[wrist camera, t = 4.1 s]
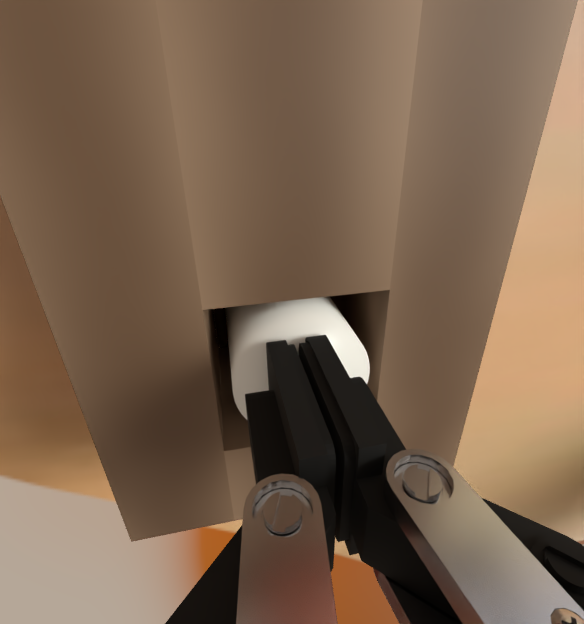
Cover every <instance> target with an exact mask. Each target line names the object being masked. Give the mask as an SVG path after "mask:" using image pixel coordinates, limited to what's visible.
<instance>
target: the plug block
mask: <svg viewBox="0 0 584 624" xmlns="http://www.w3.org/2000/svg"><path fill="white" fill-rule="evenodd" d="M577 1H578V0H0V196H1V199H2V201H3V204H4V207H5V209H6V212H7V215H8V217H9V220H10V223H11V225H12V228H13V230H14V233H15V236H16V238H17V241H18V244H19V246H20V249H21V252H22V254H23V257H24V259H25V262H26V265H27V267H28V270H29V273H30V275H31V278H32V281H33V283H34V286H35V289H36V291H37V294H38V296H39V299H40V302H41V304H42V307H43V310H44V312H45V315H46V318H47V320H48V323H49V325H50V328H51V331H52V333H53V336H54V339H55V341H56V344H57V347H58V349H59V352H60V354H61V357H62V360H63V362H64V365H65V368H66V370H67V373H68V376H69V378H70V381H71V384H72V386H73V389H74V391H75V394H76V397H77V399H78V402H79V405H80V407H81V410H82V413H83V415H84V418H85V420H86V423H87V426H88V428H89V431H90V434H91V436H92V439H93V442H94V444H95V447H96V449H97V452H98V455H99V457H100V460H101V463H102V465H103V468H104V471H105V473H106V476H107V479H108V481H109V484H110V486H111V489H112V492H113V494H114V497H115V500H116V502H117V505H118V508H119V510H120V512H121V515H122V518H123V521H124V523H125V526H126V529H127V531H128V534H129V537H130V539H131V541H137V540H142V539H147V538H151V537H156V536H161V535H166V534H171V533H176V532H181V531H186V530H191V529H195V528H200V527H206V526H211V525H215V524H220V523H225V522H230V521H235V520H240V519H243V509H244V505H245V500H246V497H247V496H248V494H249V492H250V491H251V489H252V488H253V487H254V486H255V485H256V481H255V474H254V467H253V460H252V453H251V445H250V438H249V430H248V421H247V419H245V417H244V416H243V415H242V414H241V413H240V411H239V409H238V408H237V405H236V403H235V400H234V396H233V389H232V378H231V367H230V356H229V347H224V348H219V345H218V337H217V330H216V323H215V315H214V309H216V308H226V307H235V306H244V305H254V304H263V303H272V302H281V301H291V300H300V299H309V298H319V297H328V296H330V298H331V299H332V301H333V302H334V304H335V305H336V307H337V308H338V309H339V311H340V312H341V314H342V315H343V317H344V318H345V320H346V321H347V323H348V324H349V326H350V327H351V328H352V330H353V331H354V333H355V334H356V336H357V337H358V339H359V340H360V342H361V343H362V344H363V346H364V348H365V350H366V352H367V355H368V358H369V365H370V373H369V379H368V383H367V386H368V387H369V389H370V390H371V392H372V394H373V395H374V397H375V399H376V400H377V402H378V404H379V405H380V407H381V409H382V410H383V412H384V413H385V415H386V417H387V418H388V420H389V422H390V423H391V425H392V427H393V428H394V430H395V432H396V433H397V435H398V437H399V438H400V440H401V441H402V443H403V445H404V446H405V448H406V450H407V449H421V450H425V451H428V452H432V453H434V454H436V455H438V456H440V457H441V458H443V459H445V460H446V461H447V462H448V463H449V464H450V465H451V466H453V465H454V461H455V458H456V454H457V450H458V447H459V443H460V439H461V435H462V432H463V428H464V424H465V420H466V417H467V413H468V409H469V405H470V402H471V398H472V394H473V390H474V387H475V383H476V379H477V375H478V372H479V368H480V364H481V360H482V357H483V353H484V349H485V346H486V342H487V338H488V334H489V331H490V327H491V323H492V319H493V316H494V312H495V308H496V304H497V301H498V297H499V293H500V289H501V286H502V282H503V278H504V274H505V271H506V267H507V263H508V259H509V256H510V252H511V248H512V245H513V241H514V237H515V233H516V230H517V226H518V222H519V218H520V215H521V211H522V207H523V203H524V200H525V196H526V192H527V188H528V185H529V181H530V177H531V173H532V170H533V166H534V162H535V159H536V155H537V151H538V147H539V144H540V140H541V136H542V132H543V129H544V125H545V121H546V117H547V114H548V110H549V106H550V102H551V99H552V95H553V91H554V87H555V84H556V80H557V76H558V72H559V69H560V65H561V61H562V58H563V54H564V50H565V46H566V43H567V39H568V35H569V31H570V28H571V24H572V20H573V16H574V13H575V9H576V5H577Z"/></svg>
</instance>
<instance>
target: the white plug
mask: <svg viewBox="0 0 584 624" xmlns="http://www.w3.org/2000/svg"><path fill="white" fill-rule="evenodd" d="M225 312H226V323H227V334H228V345H229V356H230V367H231V378H232V389H233V396H234V400H235V403H236V405H237V408H238V409H239V411H240V413H241V414H242V415H243V416H244V417H245V419H247V412H246V402H245V394H248V393H254V392H261V391H267V390H269V386H268V370H267V354H266V342H273V341H280V340H286V341H287V344H288V345H290V344H294V345H295V347H296V350H297V352H298V355H299V343H305V338H306V337H312V336H319V335H326V336H327V337H328V339H329V341H330V343H331V345H332V346H333V348H334V350H335V352H336V354H337V355H338V357H339V359H340V361H341V363H342V364H343V366H344V368H345V370H346V371H347V373H348V375H349V377H350V378H353V377H361V378H363V380H364V381H365V382H366V384H367V383H368V379H369V373H370V365H369V358H368V355H367V352H366V350H365V348H364V346H363V344H362V343H361V342H360V340H359V339H358V337H357V336H356V334H355V333H354V331H353V330H352V328H351V327H350V326H349V324H348V323H347V321H346V320H345V318H344V317H343V315H342V314H341V312H340V311H339V309H338V308H337V307H336V305H335V304H334V302H333V301H332V299H331V298H330V296H328V297H319V298H309V299H300V300H291V301H281V302H272V303H263V304H254V305H244V306H235V307H226V308H225Z"/></svg>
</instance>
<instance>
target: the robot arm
mask: <svg viewBox="0 0 584 624" xmlns="http://www.w3.org/2000/svg"><path fill="white" fill-rule="evenodd" d="M266 354H267V370H268V386H269V390H267V391H261V392H254V393H248V394H245V402H246V412H247V421H248V430H249V438H250V445H251V453H252V460H253V467H254V474H255V481H256V485H255V486H254V487H253V488H252V489H251V491H250V492H249V494H248V496H247V497H246V500H245V505H244V509H243V524H242V526H241V527H240V529H239V530H238V531H237V533H236V534H235V535H234V536H233V538H232V539H231V540H230V541H229V543H228V544H227V545H226V547H225V548H224V549H223V550H222V552H221V553H220V554H219V556H218V557H217V558H216V559H215V561H214V562H213V563H212V564H211V566H210V567H209V568H208V570H207V571H206V572H205V573H204V575H203V576H202V577H201V579H200V580H199V581H198V582H197V584H196V585H195V586H194V588H193V589H192V590H191V591H190V593H189V594H188V595H187V597H186V598H185V599H184V600H183V602H182V603H181V604H180V605H179V607H178V608H177V609H176V611H175V612H174V613H173V615H172V616H171V617H170V618H169V620H168V621H167V622H166V623H165V624H338V623H337V616H336V609H335V601H334V594H333V587H332V579H331V571H332V569H333V560H334V543H335V537H336V539H337V541H338V542H340V541H344V540H345V543H346V546H347V549H348V552H349V555H352V554H357V553H359V555H360V558H361V560H362V561H363V562H364V563H366V564H368V565H369V566H371V567H373V569H374V573H375V576H376V578H377V581H378V583H379V585H380V586H381V589H382V591H383V593H384V595H385V596H386V598H387V600H388V602H389V604H390V606H391V608H392V610H393V612H394V614H395V616H396V618H397V619H398V621H399V623H400V624H584V545H581V544H580V543H578V542H576V541H574V540H573V539H571V538H569V537H567V536H565V535H563V534H561V533H558V532H556V531H554V530H552V529H550V528H547V527H545V526H543V525H541V524H538V523H536V522H534V521H532V520H530V519H527V518H525V517H523V516H521V515H518V514H516V513H514V512H512V511H510V510H507V509H505V508H503V507H501V506H498V505H496V504H494V503H492V502H490V501H487V500H485V499H483V498H481V497H480V496H479V495H478V494H477V493H476V492H475V491H474V490H473V488H472V487H471V486H470V485H469V484H468V483H467V482H466V481H465V480H464V479H463V477H462V476H461V475H460V474H459V473H458V472H457V471H456V470H455V469H454V468H453V466H451V465H450V464H449V463H448V462H447V461H446V460H445V459H443V458H441V457H440V456H438V455H436V454H434V453H432V452H428V451H425V450H421V449H407V450H406V448H405V446H404V445H403V443H402V441H401V440H400V438H399V437H398V435H397V433H396V432H395V430H394V428H393V427H392V425H391V423H390V422H389V420H388V418H387V417H386V415H385V413H384V412H383V410H382V409H381V407H380V405H379V404H378V402H377V400H376V399H375V397H374V395H373V394H372V392H371V390H370V389H369V387H368V386H367V384H366V382H365V381H364V380H363V378H361V377H353V378H350V377H349V375H348V373H347V371H346V370H345V368H344V366H343V364H342V363H341V361H340V359H339V357H338V355H337V354H336V352H335V350H334V348H333V346H332V345H331V343H330V341H329V339H328V337H327V336H326V335H319V336H312V337H306V338H305V343H299V355H298V352H297V350H296V347H295V345H294V344H290V345H288V344H287V341H286V340H280V341H273V342H266Z"/></svg>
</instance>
